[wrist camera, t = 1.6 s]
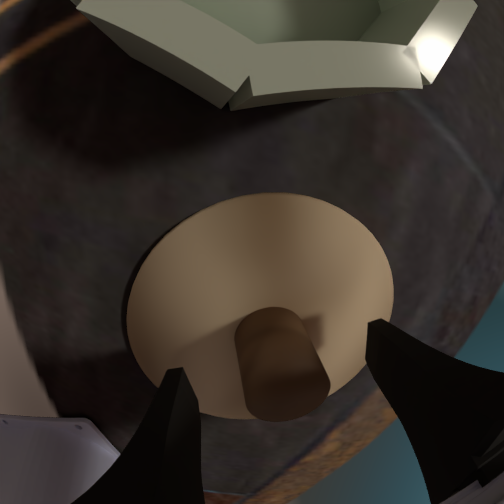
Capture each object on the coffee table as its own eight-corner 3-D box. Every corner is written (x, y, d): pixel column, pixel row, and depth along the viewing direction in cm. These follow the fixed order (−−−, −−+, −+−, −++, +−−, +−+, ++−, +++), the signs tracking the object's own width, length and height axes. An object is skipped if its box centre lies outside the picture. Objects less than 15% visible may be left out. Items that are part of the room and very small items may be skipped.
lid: (179, 422, 16) (180, 484, 12) (90, 229, 11) (42, 282, 7) (376, 374, 16) (408, 426, 13) (385, 168, 12) (456, 193, 8)
